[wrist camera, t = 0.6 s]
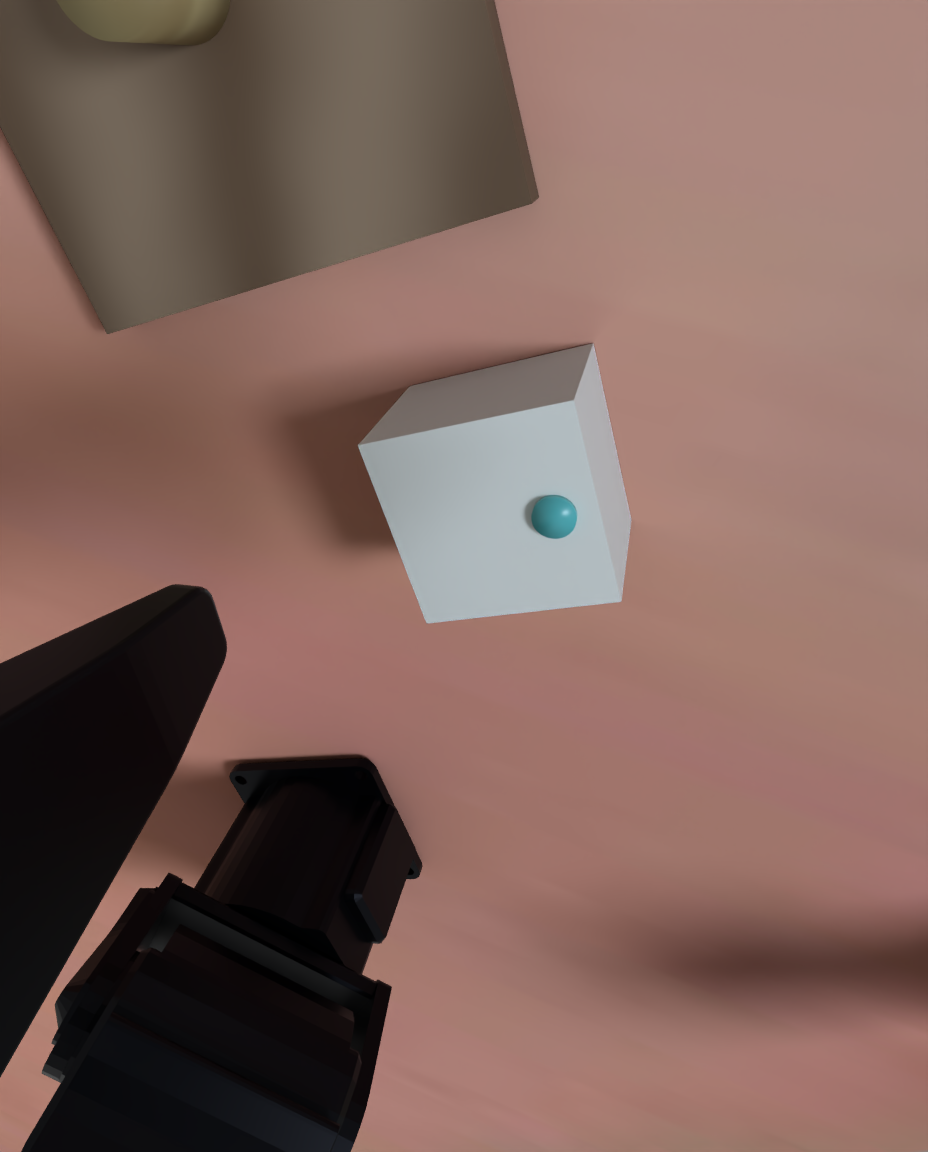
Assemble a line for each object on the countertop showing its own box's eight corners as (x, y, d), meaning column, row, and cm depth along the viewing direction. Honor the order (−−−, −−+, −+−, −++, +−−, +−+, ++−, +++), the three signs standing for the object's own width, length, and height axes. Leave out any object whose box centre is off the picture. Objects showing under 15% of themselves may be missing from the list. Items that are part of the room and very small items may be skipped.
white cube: (463, 545, 23) (424, 627, 19) (409, 386, 21) (354, 448, 17) (631, 520, 21) (620, 606, 18) (593, 343, 19) (572, 403, 15)
